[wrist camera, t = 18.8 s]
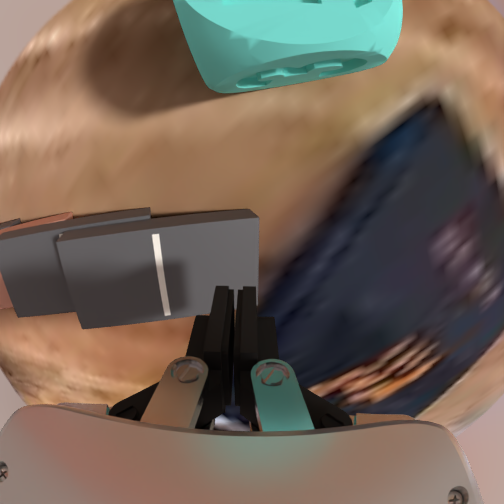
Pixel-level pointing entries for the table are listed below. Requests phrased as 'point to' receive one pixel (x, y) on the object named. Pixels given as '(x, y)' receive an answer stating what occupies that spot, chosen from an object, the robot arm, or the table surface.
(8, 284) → the domino
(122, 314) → the domino
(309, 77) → the decorative dice
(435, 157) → the table surface
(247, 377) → the robot arm
